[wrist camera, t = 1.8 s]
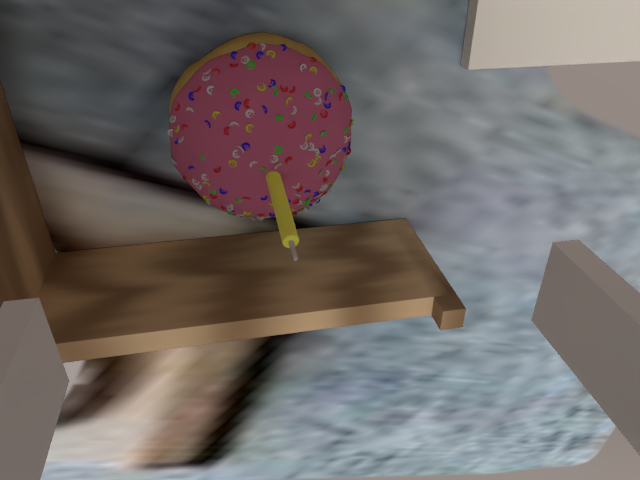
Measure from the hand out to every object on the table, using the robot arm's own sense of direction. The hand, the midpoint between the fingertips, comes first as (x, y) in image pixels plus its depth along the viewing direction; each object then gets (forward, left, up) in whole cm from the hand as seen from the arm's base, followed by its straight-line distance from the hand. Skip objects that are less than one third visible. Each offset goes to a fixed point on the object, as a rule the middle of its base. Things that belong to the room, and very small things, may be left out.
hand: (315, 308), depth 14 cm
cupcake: (0, 0, -17) cm, 17 cm away
